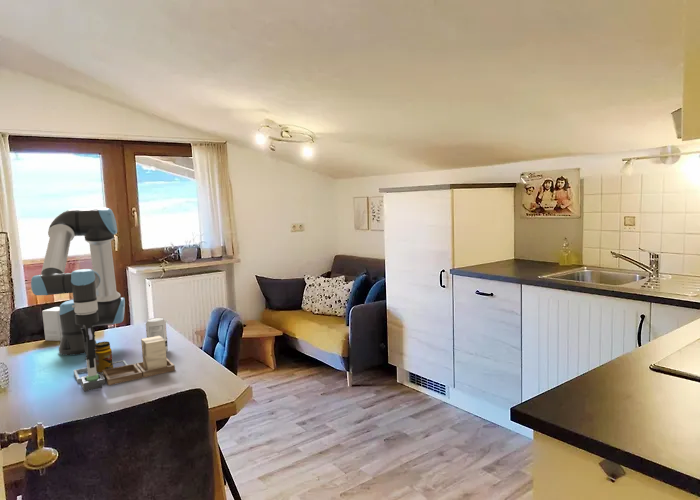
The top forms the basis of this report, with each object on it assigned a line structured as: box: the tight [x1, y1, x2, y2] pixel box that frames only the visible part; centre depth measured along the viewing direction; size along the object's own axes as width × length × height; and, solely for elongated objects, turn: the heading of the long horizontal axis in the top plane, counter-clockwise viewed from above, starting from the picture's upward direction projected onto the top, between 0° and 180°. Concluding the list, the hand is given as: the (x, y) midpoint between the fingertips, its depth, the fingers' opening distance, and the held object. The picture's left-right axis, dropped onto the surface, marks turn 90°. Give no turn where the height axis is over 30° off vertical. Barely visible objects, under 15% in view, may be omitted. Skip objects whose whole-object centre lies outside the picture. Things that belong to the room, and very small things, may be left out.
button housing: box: [80, 372, 106, 392], centre depth 186 cm, size 8×7×3 cm
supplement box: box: [41, 306, 62, 342], centre depth 250 cm, size 9×9×15 cm
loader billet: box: [140, 336, 168, 371], centre depth 197 cm, size 8×7×12 cm
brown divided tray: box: [102, 357, 176, 386], centre depth 195 cm, size 13×24×3 cm, turn 125°
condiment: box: [95, 341, 114, 373], centre depth 199 cm, size 7×8×12 cm
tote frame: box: [73, 359, 129, 384], centre depth 199 cm, size 13×19×2 cm
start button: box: [86, 373, 99, 381], centre depth 186 cm, size 4×4×2 cm
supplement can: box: [145, 317, 169, 353], centre depth 221 cm, size 8×8×15 cm
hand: (92, 375), depth 185 cm, fingers closed
